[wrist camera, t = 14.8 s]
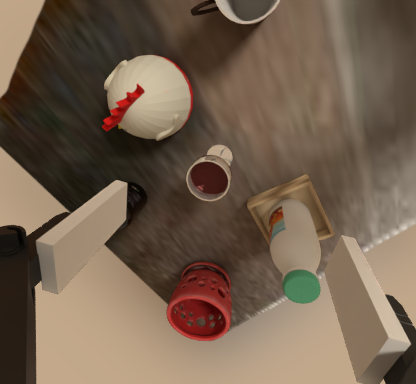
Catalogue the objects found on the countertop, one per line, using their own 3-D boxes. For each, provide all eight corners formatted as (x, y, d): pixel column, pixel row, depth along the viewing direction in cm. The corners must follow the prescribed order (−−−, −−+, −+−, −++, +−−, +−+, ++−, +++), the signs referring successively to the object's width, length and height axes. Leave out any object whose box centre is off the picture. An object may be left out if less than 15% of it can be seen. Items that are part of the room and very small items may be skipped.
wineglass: (196, 146, 51) (178, 167, 40) (230, 134, 49) (220, 153, 38) (209, 178, 53) (195, 206, 43) (242, 168, 51) (236, 194, 40)
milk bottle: (293, 189, 50) (310, 257, 32) (318, 219, 51) (347, 299, 34) (260, 211, 53) (258, 284, 35) (284, 238, 55) (294, 321, 37)
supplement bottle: (139, 215, 60) (112, 246, 49) (113, 197, 60) (80, 226, 49) (153, 193, 57) (128, 222, 46) (126, 174, 56) (94, 199, 46)
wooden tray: (307, 173, 49) (310, 180, 46) (331, 225, 53) (335, 235, 49) (248, 198, 54) (247, 206, 50) (273, 245, 57) (274, 255, 54)
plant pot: (174, 285, 67) (157, 326, 56) (193, 247, 61) (178, 285, 50) (222, 307, 67) (214, 352, 56) (245, 271, 61) (241, 314, 50)
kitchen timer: (106, 97, 50) (49, 107, 37) (150, 36, 45) (102, 22, 31) (160, 150, 53) (125, 178, 40) (209, 99, 47) (187, 111, 34)
